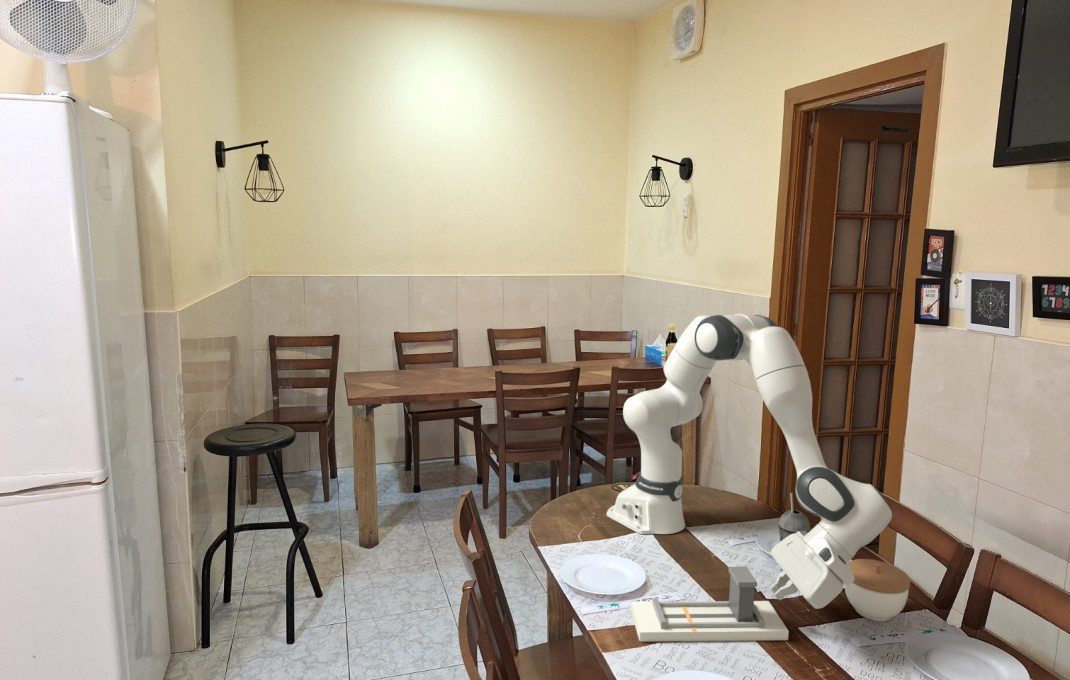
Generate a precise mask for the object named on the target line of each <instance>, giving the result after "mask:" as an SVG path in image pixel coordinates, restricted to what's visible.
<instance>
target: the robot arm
mask: <svg viewBox="0 0 1070 680" xmlns="http://www.w3.org/2000/svg"><path fill="white" fill-rule="evenodd" d="M743 360H745V361H746V362H747V363H748V364H749V366H750V368H751V371H752V374H753V377H754V381H755V384H756V387H757V389H758V391H759V395H760V396H761V399H762V400H763V402H764V404H765V406H766V408H767V409H768V411H769V412H770V414H771V415H772V417H773V418H774V420H775V421H776V423H777V424H778V426H779V427H780V429H781V431H782V433H783V435H784V438H785V440H786V442H787V446H788V448H789V452H790V455H791V458H792V460H793V461H792V462H793V464H794V468H795V474H796V481H795V488H794V489H795V490H794V491H795V494H794V495H795V497H796V501H797V503H798V505H799V506H800V507H801V509H802V510H803V511H805V512H806V513H808V514H810V515H812V516H815V517H819V518H820V521H819V523H817V524H816V525H815V526H813V528H811V529H810V530H811V531H810V532H806V531H800V532H799V531H798V532H797V533H794V534H791V535H789V536H788V537H786V538H785V539H783V540H782V541H781V542H780V541H779V542H778V543H777V544H776V545H774V546H773V547H772V548H771V550H770V556H771V557H772V558H773V560H774V561H775V562H776V563H777V564H778V566H779V567H780V568H782V570H783V571H780V572H779V574H778V576H777V578H776V580H775V583H773V584H772V585H771V586H770V587H769V589H770V591H771V592H772V593H773V595H774V596H775V598H777V599H778V600H779V601H781V600H783V599H784V598H785V597H786V596H791V595H793V594H794V595H795V594H796V593H797V592H800V594H801V595H802V597H803V598H804V599H805V600H806V601H807V602H808V603H809V605H811V606H812V607H813V609H816V610H819V609H822V608H824V607H826V606H827V605H828V604H830V603H831V602H832V601H833V600H834V599H835V598H837V596H838V595H839V594H841V592H842V591H843V590H844V588H845V585H850V584H851V583H852V582H853V581H854V575H853V573H852V570H851V566H850V563H849V561H851V560H853V558H854V557H855V556H856V554H857V552H858V551H859V550H860V549H861V548H862V547H864V546H867V545H868V544H870V543H871V542H872V541H873V540H875V538H877V536H878V535H880V534H881V533H882V532H883V531H884V529H885V528H886V527H887V526H888V524H890V522H891V520H892V518H893V510H892V507H891V505H890V504H889V502H888V501H887V499H886V498H885V497H884V495H883V494H882V493H881V492H880V490H879V489H877V488H876V486H875V485H873V484H871V483H863V482H860V481H856V480H854V479H851V478H848V477H847V476H844V475H841V474H840V473H837V472H836V471H834V470H832V469H830V468H829V467H828V466H827V464H826V462H825V460H824V456H823V454H822V451H821V448H820V445H819V442H818V439H817V437H816V433H815V430H814V426H813V413H812V412H813V392H812V385H811V380H810V377H809V376H810V375H809V372H808V369H807V368H806V365H805V362H804V360H803V357H802V355H801V353H800V351H799V349H798V346H797V344H796V342H795V341H794V340H793V337H792V336H791V334H790V333H789V332H788V331H787V330H786V329H785V328H783V327H780V326H778V325H777V323H776V322H775V321H774V320H773V319H771V318H769V317H767V316H764V315H761V314H754V315H753V314H746V313H734V314H724V315H721V314H716V315H709V314H703V315H699V316H695V318H694V319H692V321H691V322H690V324H689V323H688V326H687V327H686V328H685V329H684V330H683V332H682V333H681V335H680V336H679V338H678V340H677V342H676V343H675V345H674V347H672V350H671V352H670V354H669V355H668V358H667V360H666V361H665V363H664V364H663V373H664V376H665V378H666V380H665V383H664V384H663V385H662V386H661V387H659V388H654V389H649V390H644V391H640V392H638V393H636V394H634V395H633V396H631V397H628V398H626V399H627V400H626V401H625V402H624V404H623V410H622V416H623V420H624V422H625V424H626V426H627V427H628V428H629V429H630V430H631V431H633V432H634V433H635V435H636V436H637V439H638V442H639V446H640V471H639V472H637V473H636V474H634V475H632V480H636V481H635V483H634V484H632V485H630V486H629V487H626V488H625V489H623V490H622V491H621V492H620V493H618V495H617V497H616V500H615V504H614V505H612V506H611V507H609V508H608V509H607V511H606V517H608V518H610V519H611V520H613V521H615V522H617V523H619V524H621V525H622V526H624V527H626V528H628V529H630V530H631V531H634V532H636V533H637V534H639V535H650V534H652V535H653V534H655V535H656V534H657V535H670V534H675V533H679V532H682V531H683V530H684V529H685V527H686V523H685V518H684V513H683V506H682V496H683V487H684V486H683V483H684V481H683V479H684V478H683V475H682V468H683V467H682V465H683V451H682V448H681V447H680V446H679V444H678V443H676V442H675V441H673V439H672V434H671V429H672V428H673V427H676V426H681V425H684V424H687V423H689V422H691V421H693V420H695V419H696V418H697V417H698V416H699V415H700V414H701V413H702V411H703V403H704V402H703V398H702V395H701V393H700V392H701V390H702V387H703V385H704V383H705V381H706V379H707V378H708V376H709V374H710V373H711V371H712V369H713V368H714V366H715V365H716V363H717V361H743ZM801 533H802V534H803V535H802V534H801Z"/></svg>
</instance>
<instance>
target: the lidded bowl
mask: <svg viewBox="0 0 1070 680" xmlns="http://www.w3.org/2000/svg"><path fill="white" fill-rule="evenodd" d="M849 563H850V566H851V570H852V573H853V575H854V581H853V582H852V583H851V584H850V585H845V584H844V591H845V594H846V598H847V600H848V601H849V603H850V605H852V607H853V608H854V610H855V612H856V613H858V615H860V616H862V617H863V618H865V619H868V620H871V621H876V622H886V621H889V620H891V619H892V618H894V617H896V616H898V614H899V613H901V612H902V611H903V610H904V608H905V606H906V603H907V600H908V597H909V592H910V590H909V589H910V586H911V578H910V577H909V575H908V574H907V573H906V571H904V570H903V569H901V568H899V567H897V566H895V565H893V564H891V563H888V562H884V561H881V560H877V559H870V558H869V559H868V558H857V559H856V558H855V559H851V560H850V561H849Z"/></svg>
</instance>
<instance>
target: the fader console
mask: <svg viewBox="0 0 1070 680" xmlns="http://www.w3.org/2000/svg"><path fill="white" fill-rule="evenodd" d="M630 612H631V615H632V616H631V617H632V619H633V623H634V626H635V630H636V634H637V638H638V640H639V642H641V643H642V642H719V641H720V642H723V641H724V642H726V641H728V642H730V641H731V642H732V641H733V642H736V641H737V642H739V641H740V642H741V641H745V642H746V641H789V630H788V627H786V625H785V623H784V622H783V619H781V618H780V616H779V614H778V613H777V611H776V610H775V608H774V607H773V605H772V604H771V603H770V601H769V600H754V605H753V621H752V622H737V620H736V619H735V617H734V615H733V613H732V611H731V610H730V608H729V600H727V601H726V600H725V601H723V600H721V601H719V600H718V601H713V600H711V601H659V599H658V598H655V597H654V598H652V601H632V602H630Z"/></svg>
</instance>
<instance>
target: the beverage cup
mask: <svg viewBox="0 0 1070 680" xmlns="http://www.w3.org/2000/svg"><path fill="white" fill-rule="evenodd" d="M789 496H790V509H789V510H787V511H785V512H784V513H783V514H782V515H781V516H780V517H779V521H778V524H777V525H778V532H779V540H780V541H779V542H781V541H782V540H783V539H785V538H786V537H788V536H789V535H791V534H794V533H797V532H798V531H799V532H800V531H806V532H810V531H811V530H812V529H811V525H810V521H809V518H808V517H807V516H806V514H804V513H803V512H802V511H799V510H797V509H794V499H793V498H794V497H793V496H794V495H793V492H790V493H789ZM801 534H802V533H801ZM802 535H803V534H802ZM780 568H781V567H780ZM782 571H783V570H782V568H781V570H780V572H782Z"/></svg>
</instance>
